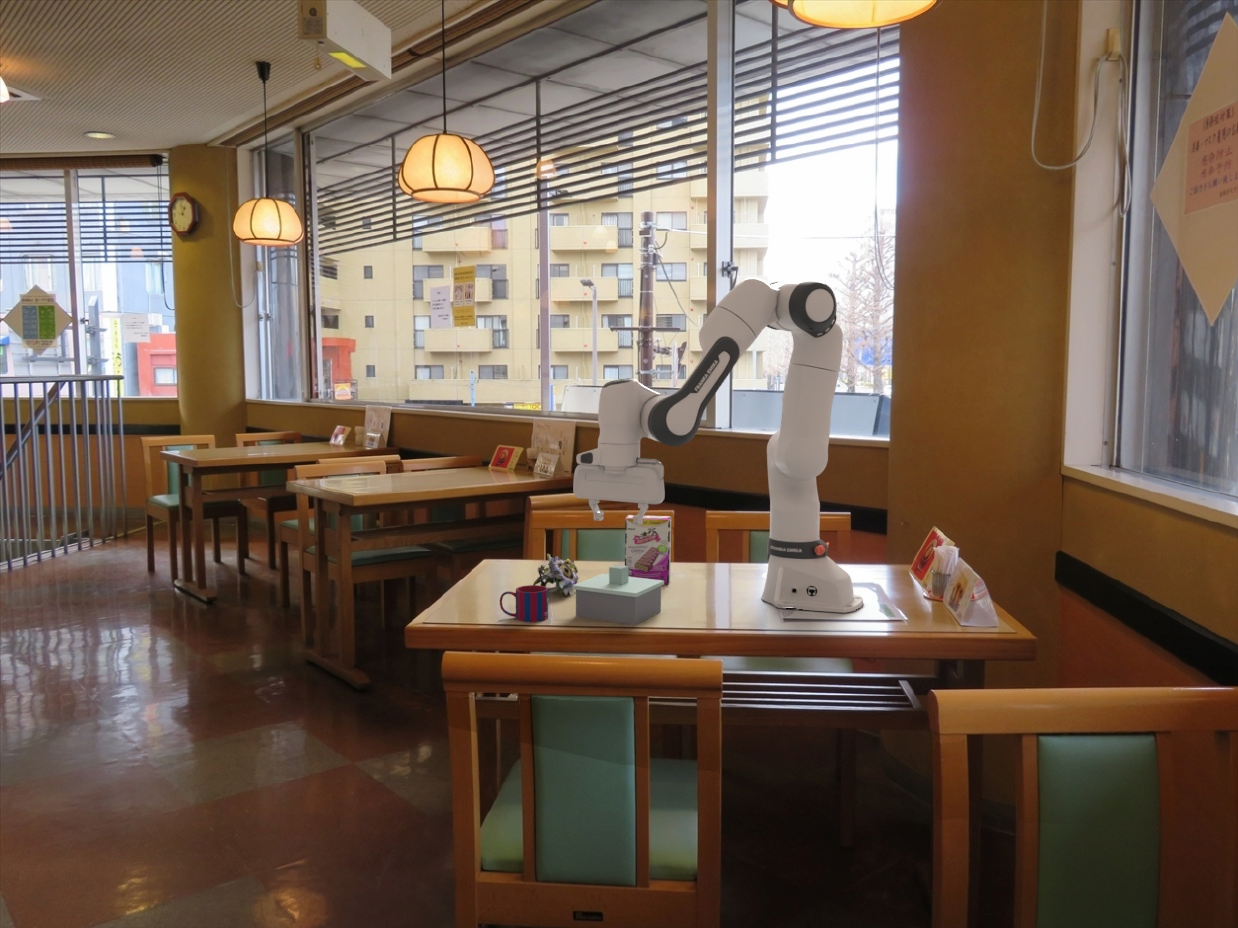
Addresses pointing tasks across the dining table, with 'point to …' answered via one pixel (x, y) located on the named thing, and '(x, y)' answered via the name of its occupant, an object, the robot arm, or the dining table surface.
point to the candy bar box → (648, 548)
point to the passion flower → (559, 575)
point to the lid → (618, 583)
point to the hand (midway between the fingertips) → (618, 522)
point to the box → (618, 606)
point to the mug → (529, 603)
